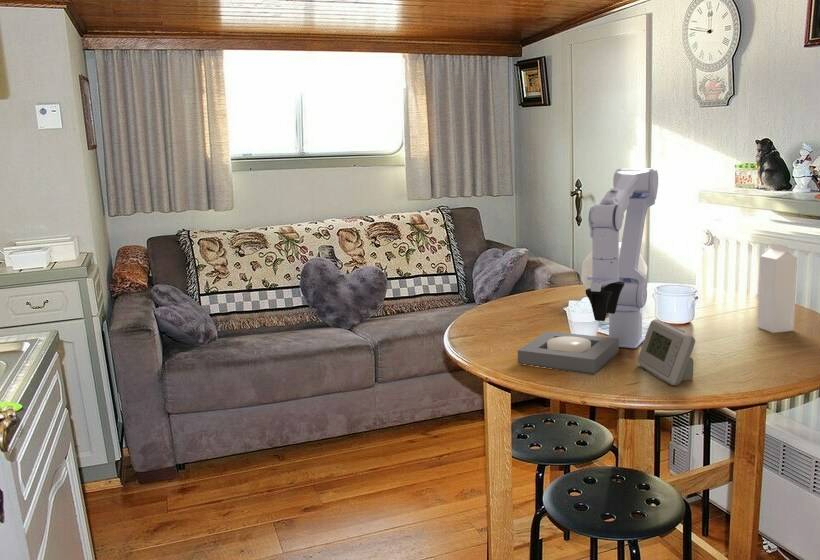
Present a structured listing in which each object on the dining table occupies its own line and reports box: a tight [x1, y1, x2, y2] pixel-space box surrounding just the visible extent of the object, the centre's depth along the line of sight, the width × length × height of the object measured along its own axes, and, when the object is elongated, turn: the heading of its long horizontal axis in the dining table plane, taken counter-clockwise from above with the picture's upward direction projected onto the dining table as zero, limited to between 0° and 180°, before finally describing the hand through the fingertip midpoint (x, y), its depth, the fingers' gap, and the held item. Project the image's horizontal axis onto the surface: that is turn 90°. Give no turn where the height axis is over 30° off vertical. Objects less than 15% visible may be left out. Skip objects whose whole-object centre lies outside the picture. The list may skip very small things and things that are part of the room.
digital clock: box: [636, 318, 696, 386], centre depth 154 cm, size 16×9×11 cm, turn 178°
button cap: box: [547, 336, 591, 353], centre depth 169 cm, size 10×10×3 cm
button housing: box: [517, 330, 620, 376], centre depth 169 cm, size 18×18×4 cm
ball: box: [580, 241, 648, 290], centre depth 220 cm, size 19×20×20 cm
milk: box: [757, 242, 798, 334], centre depth 183 cm, size 6×6×22 cm
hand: (605, 316), depth 165 cm, fingers open, 7 cm apart
